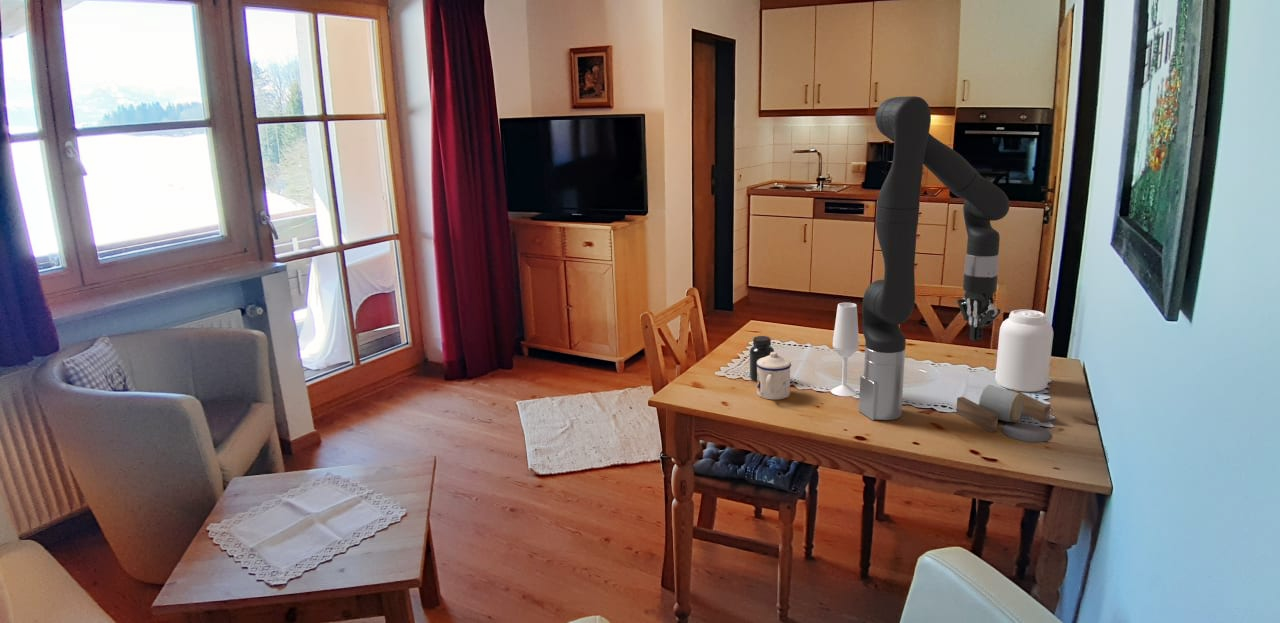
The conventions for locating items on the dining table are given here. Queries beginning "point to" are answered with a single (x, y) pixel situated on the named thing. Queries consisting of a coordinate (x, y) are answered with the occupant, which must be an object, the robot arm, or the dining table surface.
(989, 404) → the grey cylinder
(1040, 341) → the white lidded jar
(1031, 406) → the holder
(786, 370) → the teacup with lid
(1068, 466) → the dining table surface
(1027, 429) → the dark mat
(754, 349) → the supplement bottle
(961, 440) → the dining table surface
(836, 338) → the champagne flute
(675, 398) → the dining table surface
